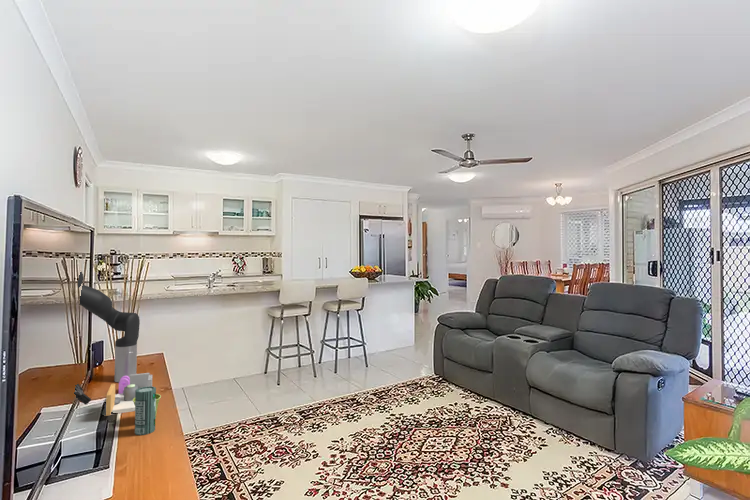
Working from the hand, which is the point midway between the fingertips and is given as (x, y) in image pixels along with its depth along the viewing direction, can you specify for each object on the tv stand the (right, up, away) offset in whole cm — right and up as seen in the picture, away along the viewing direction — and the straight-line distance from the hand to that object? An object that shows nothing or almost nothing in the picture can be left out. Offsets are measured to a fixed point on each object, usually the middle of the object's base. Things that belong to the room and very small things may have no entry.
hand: (88, 402), depth 153 cm
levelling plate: (+6, -7, +17) cm, 19 cm away
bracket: (-1, -7, +31) cm, 32 cm away
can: (+26, -7, -9) cm, 29 cm away
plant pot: (+22, -7, 0) cm, 23 cm away
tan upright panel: (+4, -5, +7) cm, 10 cm away
